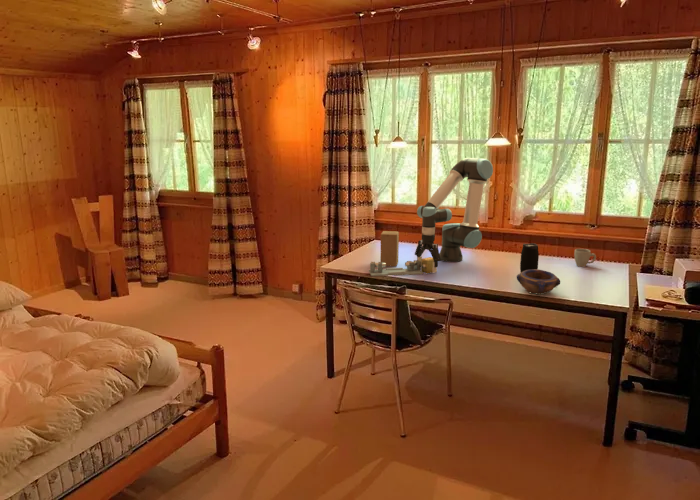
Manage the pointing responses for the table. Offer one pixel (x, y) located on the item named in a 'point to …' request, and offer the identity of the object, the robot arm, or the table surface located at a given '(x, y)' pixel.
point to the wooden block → (389, 247)
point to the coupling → (427, 265)
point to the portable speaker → (529, 257)
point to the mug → (583, 257)
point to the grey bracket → (379, 265)
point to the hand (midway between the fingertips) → (426, 269)
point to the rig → (395, 272)
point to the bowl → (538, 281)
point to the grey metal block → (413, 265)
